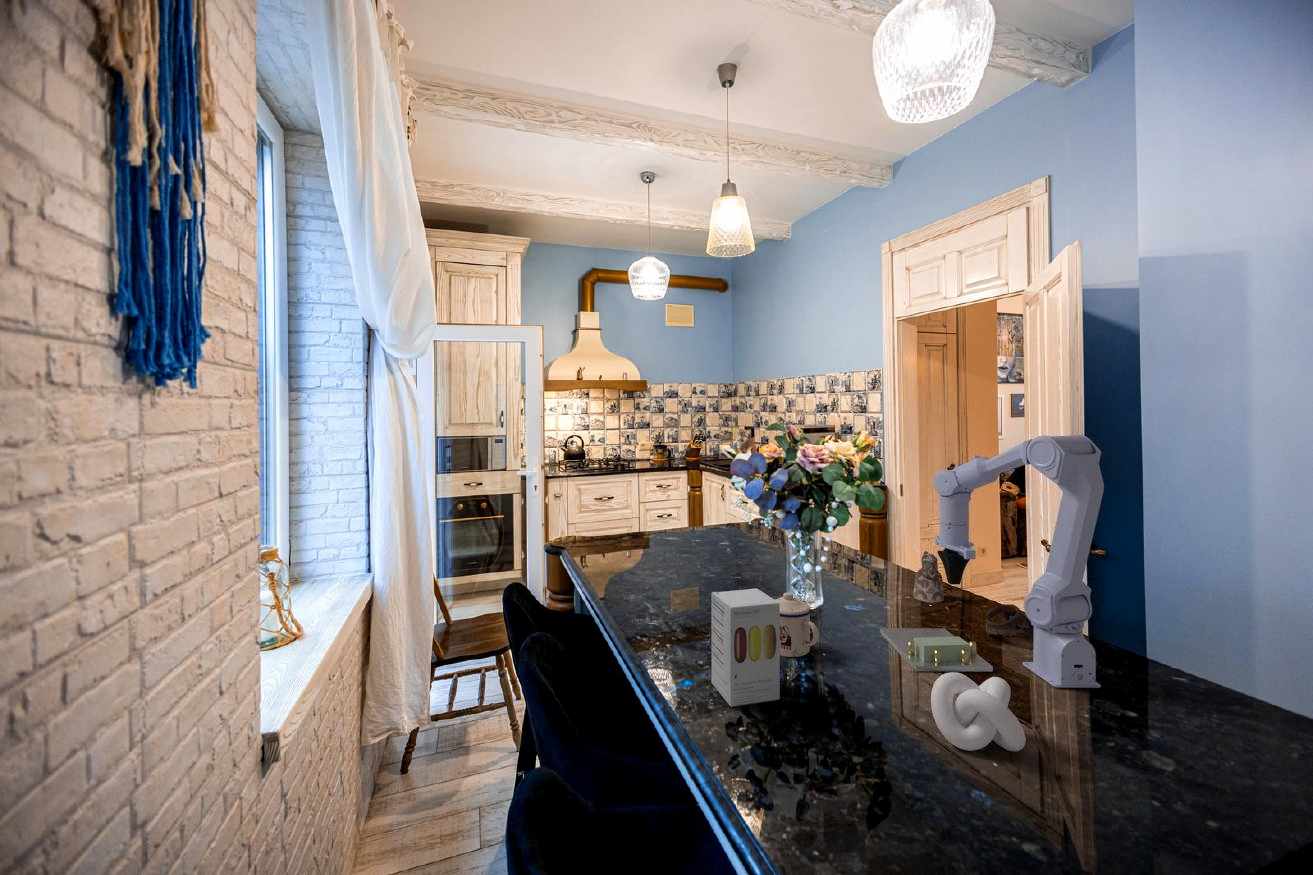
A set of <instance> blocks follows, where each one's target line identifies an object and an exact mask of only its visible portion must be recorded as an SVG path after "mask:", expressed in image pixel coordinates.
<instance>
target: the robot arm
mask: <svg viewBox="0 0 1313 875" xmlns="http://www.w3.org/2000/svg"><path fill="white" fill-rule="evenodd" d="M1101 455H1102V451H1101V449H1100V448H1099V447H1098V446H1097V445H1096V444H1095V442H1093V441H1092V439H1090V438H1089V437H1088V436H1085V435H1083V434H1072V435H1055V436H1054V435H1051V436H1050V435H1038V436H1036V437H1034V438H1032V439H1027V440H1024V441H1023V442H1022V443H1019V444H1017V445H1015V446H1014V447H1011V448H1009V449H1008V450H1005V451H1003V452H1001V453H999V454H997V455H995V456H992V457H991V458H990V457H988V456H981V455H974V456H972V457H970V460H969V461H968V462H965V463H963V464H962V463H961V464H960V463H958V464H957V463H956V465H954V468H953V469H945V468H944V469H940V470H939V471H938V472H936V473H935V475H934V477H933V486H934V487H933V488H934V490H935V492H936V493H937V494H938V495H939V535H934V545H937V546H938V547H940V548H943V549H942V550H937V555H938V557H939V558H940V560H941V563H942V565H943V569H944V573H945V576H946V581H947V583H948V584H950V585H961V583H962V579H963V575H964V572H965V569H966V567H967V565H968V563H969V562H970V561H971V560H976V558H977V556H976V555H977V554H976V550H975V549H973V548H974V547H975V544H974V542H972V541H969V539H970V538H969V537H970V536H969V533H970V532H969V526H970V524H969V520H970V518H969V515H970V514H969V513H970V512H969V511H970V510H969V507H970V504H969V503H970V502H971V500H972V494H973V493H974V491H975V490H977V489H979V488H981V487H984V486H987V485H988V484H992V483H995V482H997V480H998V479H999V476H1000V474H1002V473H1005V472H1007V471H1010V470H1013V469H1016V468H1019V467H1022V466H1025V465H1031V466H1032V467H1033V468H1034V469H1036V470H1037V471H1038V472H1039V473H1041V474H1042V475H1044V476H1045V477H1046V478H1047V479H1049V480H1050V481H1051V482H1053V483H1054V484H1056V485H1057V487H1058V488H1059V489H1060V490H1061V491H1062V494H1061V499H1060V504H1059V508H1058V512H1057V516H1056V522H1055V527H1054V530H1053V535H1052V539H1051V544H1050V549H1049V553H1048V557H1047V561H1046V562H1047V563H1046V567H1045V570H1044V572H1043V574H1042V575H1041V576H1039V578H1037V580H1035V581H1034V582H1033V584H1032V588H1031V590H1030V592H1029V593H1028V594H1027V595H1026V596H1025V598H1024V600H1023V609H1024V612H1025V613H1026V615H1027V617H1028V618H1029V620H1030V621H1031V625H1034V637H1033V661H1022V666H1024V667H1026V668H1027V669H1028V670H1029V671H1031V672H1032V673H1033V674H1035V675H1036V676H1038V677H1039V678H1041V679H1042V680H1044V681H1045V682H1046V683H1047V684H1049V685H1050V686H1052V687H1053V688H1060V689H1061V688H1066V689H1067V688H1071V689H1073V688H1074V689H1075V688H1076V689H1077V688H1079V689H1080V688H1081V689H1082V688H1083V689H1084V688H1085V689H1094V688H1096V689H1100V688H1101V687H1102V685H1101V684H1100V683H1098V682H1097V681H1096V678H1097V676H1096V671H1097V670H1096V669H1097V668H1096V667H1097V660H1096V659H1097V657H1096V656H1097V654H1096V653H1097V652H1096V651H1095V648H1094V646H1093V645H1092V644H1091V643H1090V642H1089V641H1088V640H1087V639H1086V638H1085V636H1084V635H1083V629H1084V628H1085V622H1087V621H1088V620H1090V618H1091V616H1092V614H1093V604H1092V602H1091V593H1092V588H1091V587H1089V586H1088V584H1086V583H1085V582H1084V581H1083V579H1084V575H1085V570H1086V566H1087V563H1088V559H1089V553H1090V551H1091V550H1090V549H1091V547H1092V546H1091V545H1092V541H1093V537H1094V533H1095V529H1096V524H1097V521H1098V517H1099V512H1100V508H1101V505H1102V504H1101V503H1102V499H1103V495H1104V490H1105V484H1104V479H1103V476H1102V472H1101V467H1100V459H1101Z"/></svg>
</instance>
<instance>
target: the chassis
mask: <svg viewBox="0 0 1313 875" xmlns="http://www.w3.org/2000/svg"><path fill="white" fill-rule="evenodd" d="M879 633H880V634H881V635H882V637H883V638H884V639H885V640H886V641H887V642H888V643H889V644H890V645H891V646H892V648H894V649H895V651H897V652H898V654H899V655H900V656H901V657H902V658H903V659H904V660H905V661H906V662H907V663H908V665H910V666H911V667H912V669H914V671H915V672H941V673H942V672H945V673H951V672H954V673H960V672H961V673H962V672H965V673H966V672H967V673H968V672H969V673H971V672H972V673H974V672H975V673H977V672H979V673H982V672H983V673H985V672H986V673H988V672H989V673H991V672H992V673H993V671H994V666H993V665H992V664H991V663H989V662H988V661H987V660H985V659H984V658H983V657H982V656H980V655H979V654H977V642H976V641H969V642H968V643H969V644H970V660H969V651H968V650H966V649H962V650H961V660H951V661H941V650H939V649H935V650H934V661H923V660H922V659H921V658H920V657H919V656H917V655H916V654H915V642H914V638H919V637H956V636H955V635H954V634H953V633H951V632H950V631H948V630H947V629H946V628H942V627H941V628H928V627H925V628H923V627H922V628H920V627H919V628H917V627H916V628H909V627H908V628H907V627H906V628H905V627H904V628H903V627H902V628H899V627H898V628H892V627H891V628H888V627H886V628H885V627H884V628H882V627H881V628H879Z"/></svg>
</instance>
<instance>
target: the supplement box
mask: <svg viewBox="0 0 1313 875" xmlns="http://www.w3.org/2000/svg"><path fill="white" fill-rule="evenodd" d="M780 657H781V656H780V603H779V602H777V601H776V600H775V599H774V597H771V596H769V595H768V594H767V593H765V592H763V591H762V590H760V589H758V588H756V587H755V588H749V589H737V590H728V591H712V592H711V684H712V685H713V686H714V688H715V689H716V690H717V691H718V693H719V694H720V696H721V697H723V699H724V701H725V702H726V703H727V704H728V705H729V706H730V707H731V708H733V707H738V706H745V705H750V704H757V703H763V702H770V701H777V700H780V698H781V696H780V695H781V694H780V687H781V686H780V685H781V684H780V682H781V681H780V680H781V679H780V678H781V675H780V673H781V672H780V668H781V667H780V661H781V658H780Z"/></svg>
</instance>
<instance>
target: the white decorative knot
mask: <svg viewBox="0 0 1313 875" xmlns="http://www.w3.org/2000/svg"><path fill="white" fill-rule="evenodd" d="M1011 693H1012V692H1011V687H1010V685H1009V683H1008V682H1007V681H1006V680H1005V679H1003V678H1002V677H999V676H992V677H989V678H987V679H986V680H984V681H983V682H982V683H981V684H980V685H978V684H977V683H976V682H975V681H973V680H972V679H971V678H969V677H968V676H967V675H965V674H963V673H960V672H945V673H944V674H941V675H940V676H939V677H938V678H937V679H936V680H935V682H934V683H933V685H932V689H931V694H930V705H931V712H932V716H933V719H934V721H935V724H936V726H937V728H938V730H939V731H940V733H941V734H942V735H943V737H944V738H945V739H946V740H947V741H948V742H949V743H950V744H951V745H953V746H954V747H956V748H959V749H960V750H964V751H971V752H973V751H978V750H980V749H984V748H985V747H987V746H988V745H989V744H990V743H991V742H992V741H994V743H996V745H998V746H1000V747H1001V748H1003V749H1004V750H1006V751H1008V752H1019V751H1020V750H1022V749H1024V748H1025V744H1026V741H1027V739H1026V735H1025V734H1026V733H1025V731H1024V728H1023V727H1022V724H1021V723H1020V721H1019V720H1018V718H1017V717H1016V716H1015V715H1014V713H1013V711H1012V710H1011V709H1009V707H1008V705H1009V702H1010V700H1011V695H1012V694H1011ZM956 694H957V695H958V696H957V698H956V699H955V701H954V698H955V695H956ZM953 701H954V703H953Z"/></svg>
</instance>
